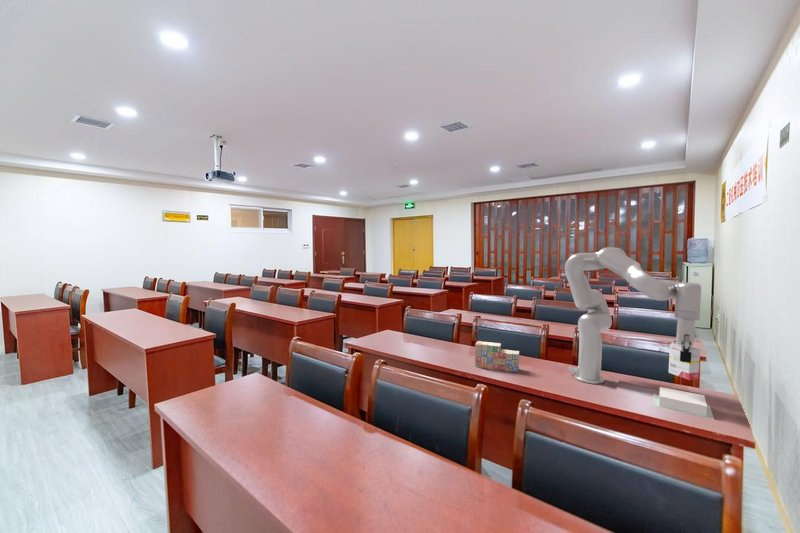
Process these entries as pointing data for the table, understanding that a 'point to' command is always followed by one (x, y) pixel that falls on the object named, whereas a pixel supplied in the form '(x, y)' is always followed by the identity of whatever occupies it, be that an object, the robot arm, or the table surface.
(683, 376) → the ink box
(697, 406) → the cream brick
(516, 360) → the stack of blocks
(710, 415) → the building plate
